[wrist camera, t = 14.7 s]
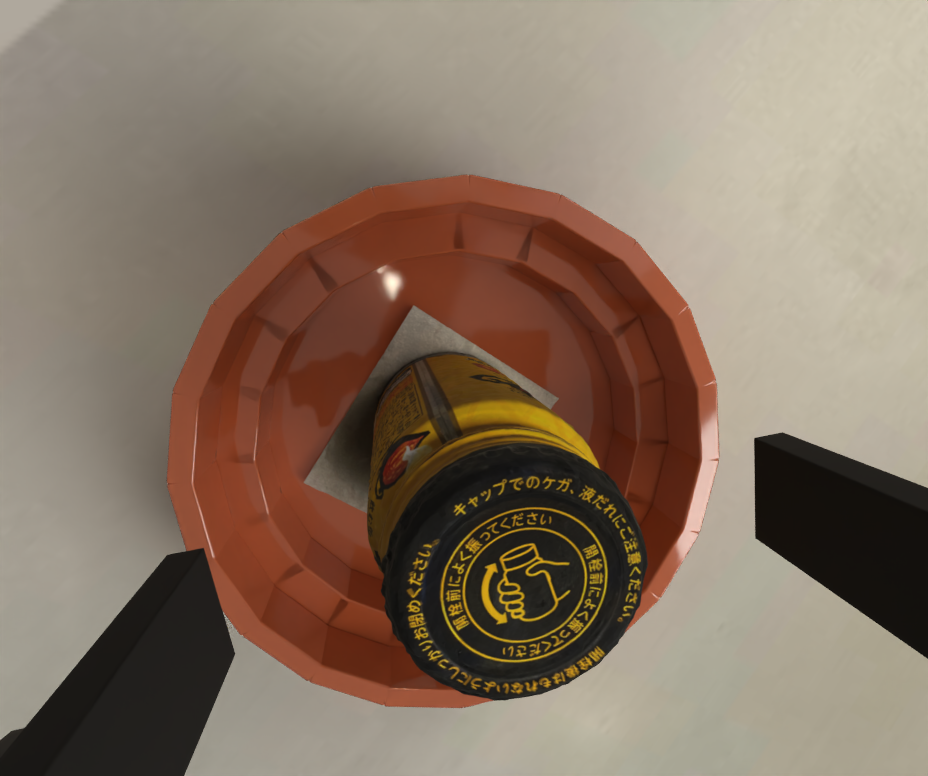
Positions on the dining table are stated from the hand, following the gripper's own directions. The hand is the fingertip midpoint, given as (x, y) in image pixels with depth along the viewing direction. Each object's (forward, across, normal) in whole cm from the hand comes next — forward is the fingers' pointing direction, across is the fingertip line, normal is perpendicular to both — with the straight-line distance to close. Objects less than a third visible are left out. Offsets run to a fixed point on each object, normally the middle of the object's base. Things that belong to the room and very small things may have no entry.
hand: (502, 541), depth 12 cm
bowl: (+10, 0, 0) cm, 10 cm away
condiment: (+10, -1, 0) cm, 10 cm away
